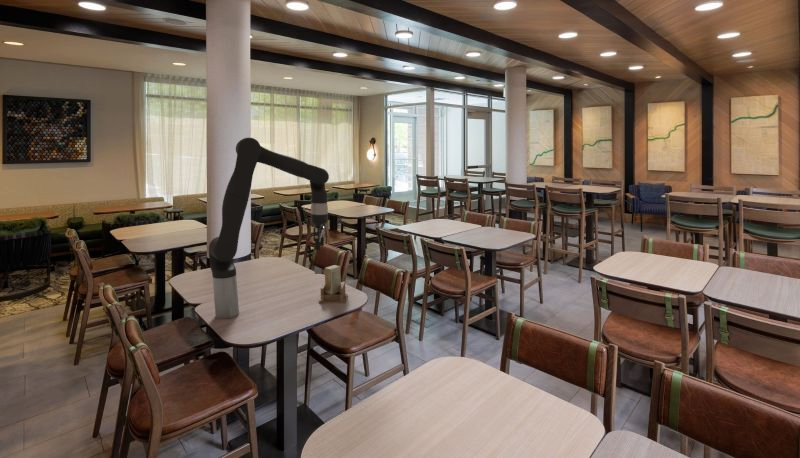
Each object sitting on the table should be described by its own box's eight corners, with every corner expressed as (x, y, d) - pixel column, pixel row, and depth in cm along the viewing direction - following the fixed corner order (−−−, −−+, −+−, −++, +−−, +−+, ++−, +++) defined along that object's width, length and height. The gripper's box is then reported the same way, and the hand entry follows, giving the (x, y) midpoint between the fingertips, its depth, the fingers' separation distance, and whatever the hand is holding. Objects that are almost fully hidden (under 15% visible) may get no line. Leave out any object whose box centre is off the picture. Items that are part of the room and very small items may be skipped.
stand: (345, 303, 197) (344, 288, 195) (318, 303, 197) (318, 288, 195) (347, 295, 206) (347, 281, 205) (322, 295, 206) (322, 281, 205)
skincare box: (335, 289, 205) (334, 264, 202) (341, 291, 202) (340, 266, 200) (324, 292, 200) (324, 267, 197) (331, 295, 197) (330, 269, 195)
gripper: (324, 215, 188) (324, 251, 190) (330, 210, 202) (330, 244, 204) (307, 214, 188) (307, 251, 191) (314, 210, 202) (314, 244, 205)
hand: (319, 247), depth 198 cm, fingers open, 8 cm apart
